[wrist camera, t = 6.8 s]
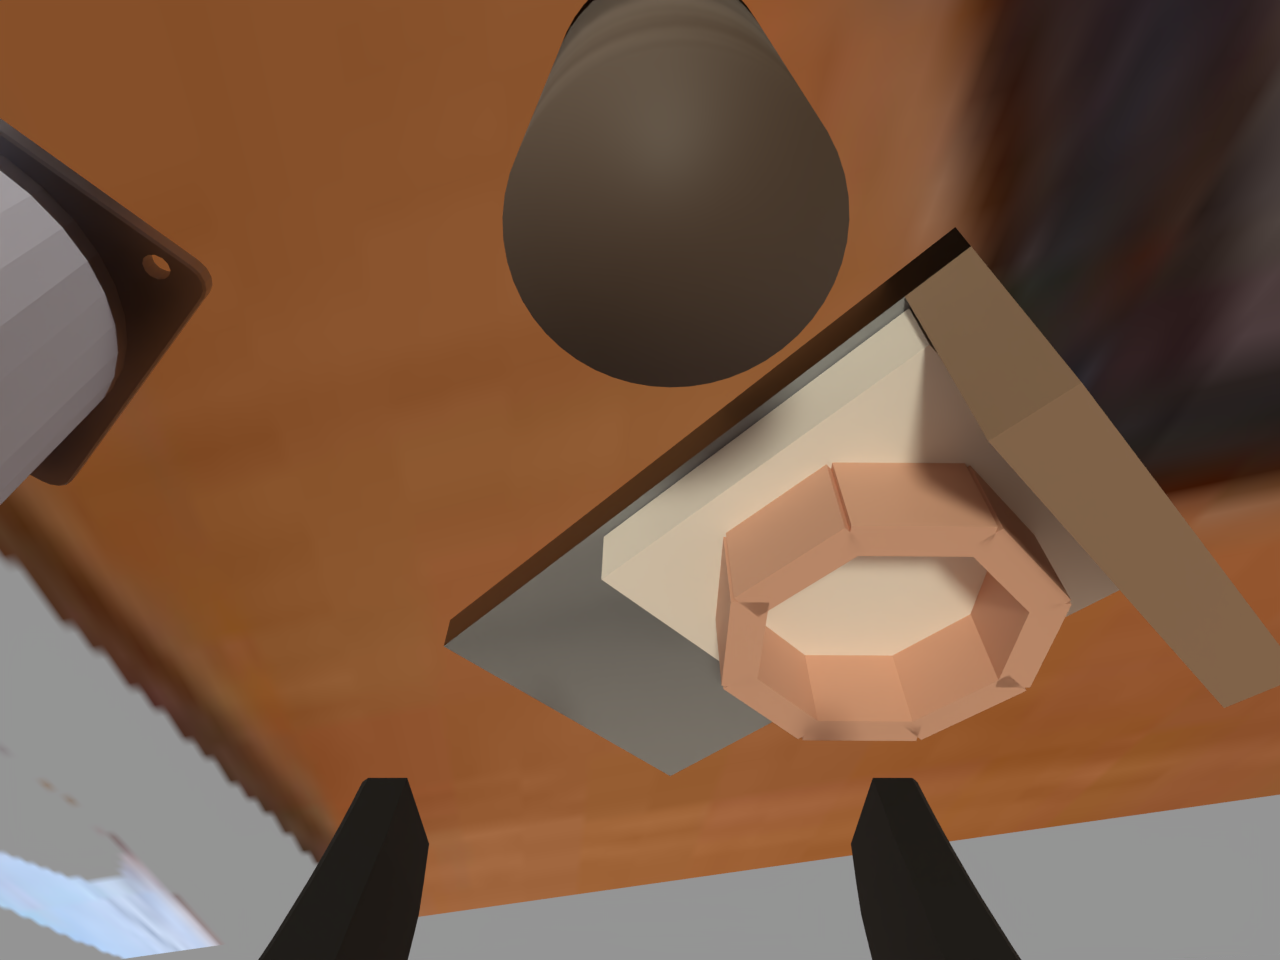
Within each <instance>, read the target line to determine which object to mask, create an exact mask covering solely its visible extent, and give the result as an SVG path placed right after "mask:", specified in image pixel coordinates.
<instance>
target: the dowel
mask: <svg viewBox="0 0 1280 960" xmlns="http://www.w3.org/2000/svg"><path fill="white" fill-rule="evenodd" d="M502 220H503V241H504V247H505V253H506V258H507V263H508V266H509V269H510V272H511V276H512V279H513V282H514V284H515V286H516V288H517V290H518V293H519V295H520V297H521V299H522V301H523V303H524V304H525V306H526V307H527V309H528V311H529V312H530V314H531V315H532V317H533V318H534V320H535V321H536V322H537V323H538V325H539V326H540V327H541V328H542V329H543V331H544V332H545V333H546V334H547V335H548V336H549V337H550V338H551V339H552V340H553V341H554V342H555V343H556V344H557V345H558V346H559V347H561V348H562V349H563V350H565V351H566V352H567V353H569V354H570V355H571V356H573V357H574V358H575V359H577V360H578V361H580V362H582V363H584V364H585V365H587V366H589V367H591V368H592V369H594V370H596V371H599V372H601V373H603V374H606V375H608V376H611V377H613V378H617V379H620V380H623V381H627V382H630V383H635V384H641V385H646V386H655V387H690V386H696V385H702V384H708V383H713V382H716V381H720V380H723V379H727V378H730V377H733V376H735V375H737V374H740V373H742V372H745V371H747V370H749V369H751V368H753V367H755V366H757V365H759V364H760V363H762V362H764V361H766V360H767V359H769V358H770V357H772V356H773V355H775V354H776V353H777V352H779V351H780V350H782V349H783V348H784V347H785V346H786V345H788V344H789V343H790V342H791V341H792V340H793V339H794V338H795V337H797V336H798V335H799V334H800V332H801V331H802V330H803V329H804V328H805V327H806V326H807V325H808V324H809V322H810V321H811V320H812V319H813V318H814V316H815V315H816V313H817V312H818V310H819V309H820V307H821V306H822V305H823V303H824V302H825V300H826V298H827V296H828V294H829V292H830V290H831V288H832V287H833V285H834V283H835V280H836V277H837V275H838V272H839V270H840V267H841V264H842V261H843V257H844V253H845V248H846V244H847V238H848V228H849V196H848V190H847V184H846V178H845V173H844V170H843V167H842V164H841V161H840V158H839V155H838V152H837V150H836V148H835V146H834V144H833V142H832V139H831V137H830V135H829V133H828V131H827V130H826V128H825V127H824V125H823V123H822V122H821V120H820V119H819V117H818V116H817V114H816V112H815V111H814V109H813V108H812V106H811V105H810V103H809V102H808V100H807V98H806V97H805V95H804V94H803V92H802V91H801V89H800V87H799V86H798V84H797V83H796V81H795V80H794V78H793V76H792V75H791V73H790V72H789V70H788V69H787V67H786V66H785V64H784V62H783V61H782V59H781V58H780V56H779V55H778V53H777V51H776V50H775V48H774V47H773V45H772V44H771V42H770V40H769V39H768V37H767V36H766V34H765V33H764V31H763V29H762V28H761V26H760V25H759V23H758V22H757V20H756V19H755V17H754V16H753V14H752V13H751V11H750V10H749V8H748V7H747V5H746V4H745V3H744V2H743V1H742V0H588V1H587V2H586V3H585V4H584V5H583V6H582V8H581V9H580V10H579V12H578V13H577V15H576V16H575V17H574V19H573V21H572V23H571V25H570V26H569V28H568V30H567V32H566V35H565V37H564V39H563V42H562V44H561V47H560V49H559V52H558V54H557V57H556V59H555V62H554V64H553V67H552V69H551V72H550V74H549V76H548V79H547V81H546V84H545V86H544V89H543V91H542V94H541V96H540V99H539V101H538V104H537V106H536V109H535V111H534V114H533V116H532V118H531V121H530V123H529V126H528V128H527V131H526V133H525V136H524V138H523V141H522V143H521V146H520V148H519V151H518V153H517V156H516V158H515V161H514V163H513V166H512V169H511V171H510V174H509V179H508V183H507V187H506V191H505V196H504V207H503V217H502Z"/></svg>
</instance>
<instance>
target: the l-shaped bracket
mask: <svg viewBox="0 0 1280 960" xmlns="http://www.w3.org/2000/svg"><path fill="white" fill-rule="evenodd" d="M907 309H910V310H911V311H912V313H913V314H914V315H915V316H916V317H917V318H918V320H919V322H920V324H921V325H922V327H923V329H924V331H925V332H926V334H927V336H928V338H929V339H930V341H931V343H932V344H933V346H934V348H935V350H936V351H937V353H938V355H939V357H940V358H941V360H942V362H943V364H944V365H945V367H946V369H947V371H948V372H949V374H950V376H951V377H952V379H953V381H954V383H955V384H956V386H957V388H958V390H959V391H960V393H961V395H962V397H963V398H964V400H965V402H966V404H967V405H968V407H969V409H970V410H971V412H972V414H973V416H974V417H975V419H976V421H977V423H978V424H979V426H980V428H981V430H982V431H983V433H984V435H985V437H986V438H987V440H988V442H989V443H990V444H991V445H992V446H993V447H994V448H995V449H996V451H997V452H998V453H999V454H1000V455H1001V456H1002V457H1003V459H1004V460H1005V461H1006V462H1007V463H1008V464H1009V465H1010V466H1011V468H1012V469H1013V470H1014V471H1015V472H1016V473H1017V474H1018V475H1019V477H1020V478H1021V479H1022V480H1023V481H1024V482H1025V483H1026V485H1027V486H1028V487H1029V488H1030V489H1031V490H1032V491H1033V492H1034V494H1035V495H1036V496H1037V497H1038V498H1039V499H1040V500H1041V502H1042V503H1043V504H1044V505H1045V506H1046V507H1047V508H1048V509H1049V511H1050V512H1051V513H1052V514H1053V515H1054V516H1055V517H1056V518H1057V520H1058V521H1059V522H1060V523H1061V524H1062V525H1063V526H1064V528H1065V529H1066V530H1067V531H1068V532H1069V533H1070V534H1071V535H1072V537H1073V538H1074V539H1075V540H1076V541H1077V542H1078V543H1079V545H1080V546H1081V547H1082V548H1083V549H1084V550H1085V551H1086V552H1087V554H1088V555H1089V556H1090V557H1091V558H1092V559H1093V560H1094V561H1095V563H1096V564H1097V565H1098V566H1099V567H1100V568H1101V569H1102V571H1103V572H1104V573H1105V574H1106V575H1107V576H1108V577H1109V578H1110V580H1111V581H1112V582H1113V583H1114V584H1115V585H1116V586H1117V588H1118V589H1119V590H1120V591H1121V592H1122V593H1123V594H1124V595H1125V597H1126V598H1127V599H1128V600H1129V601H1130V602H1131V603H1132V604H1133V606H1134V607H1135V608H1136V609H1137V610H1138V611H1139V612H1140V614H1141V615H1142V616H1143V617H1144V618H1145V619H1146V620H1147V621H1148V623H1149V624H1150V625H1151V626H1152V627H1153V628H1154V629H1155V631H1156V632H1157V633H1158V634H1159V635H1160V636H1161V637H1162V638H1163V640H1164V641H1165V642H1166V643H1167V644H1168V645H1169V646H1170V647H1171V649H1172V650H1173V651H1174V652H1175V653H1176V654H1177V655H1178V657H1179V658H1180V659H1181V660H1182V661H1183V662H1184V663H1185V664H1186V666H1187V667H1188V668H1189V669H1190V670H1191V671H1192V672H1193V674H1194V675H1195V676H1196V677H1197V678H1198V679H1199V680H1200V681H1201V683H1202V684H1203V685H1204V686H1205V687H1206V688H1207V689H1208V690H1209V692H1210V693H1211V694H1212V695H1213V696H1214V697H1215V698H1216V700H1217V701H1218V702H1219V703H1220V704H1221V705H1222V706H1223V707H1224V708H1226V707H1228V706H1230V705H1233V704H1235V703H1238V702H1240V701H1243V700H1245V699H1248V698H1250V697H1252V696H1255V695H1257V694H1260V693H1262V692H1265V691H1267V690H1270V689H1272V688H1274V687H1277V686H1279V685H1280V645H1279V644H1278V643H1277V641H1276V640H1275V639H1274V638H1273V636H1272V635H1271V634H1270V632H1269V631H1268V630H1267V628H1266V627H1265V626H1264V624H1263V623H1262V622H1261V620H1260V619H1259V618H1258V616H1257V615H1256V614H1255V612H1254V611H1253V610H1252V608H1251V607H1250V606H1249V604H1248V603H1247V602H1246V600H1245V599H1244V598H1243V596H1242V595H1241V594H1240V592H1239V591H1238V590H1237V588H1236V587H1235V586H1234V584H1233V583H1232V582H1231V580H1230V579H1229V578H1228V576H1227V575H1226V574H1225V572H1224V571H1223V570H1222V568H1221V567H1220V566H1219V564H1218V563H1217V562H1216V560H1215V559H1214V558H1213V556H1212V555H1211V554H1210V552H1209V551H1208V550H1207V548H1206V547H1205V546H1204V544H1203V543H1202V542H1201V540H1200V539H1199V538H1198V536H1197V535H1196V534H1195V532H1194V531H1193V530H1192V529H1191V527H1190V526H1189V525H1188V523H1187V522H1186V521H1185V519H1184V518H1183V517H1182V515H1181V514H1180V513H1179V511H1178V510H1177V509H1176V507H1175V506H1174V505H1173V503H1172V502H1171V501H1170V499H1169V498H1168V497H1167V495H1166V494H1165V493H1164V491H1163V490H1162V489H1161V487H1160V486H1159V485H1158V483H1157V482H1156V481H1155V479H1154V478H1153V477H1152V475H1151V474H1150V473H1149V471H1148V470H1147V469H1146V467H1145V466H1144V465H1143V463H1142V462H1141V461H1140V459H1139V458H1138V457H1137V455H1136V454H1135V453H1134V451H1133V450H1132V449H1131V447H1130V446H1129V445H1128V443H1127V442H1126V441H1125V439H1124V438H1123V437H1122V435H1121V434H1120V433H1119V431H1118V430H1117V429H1116V427H1115V426H1114V425H1113V424H1112V422H1111V421H1110V420H1109V418H1108V417H1107V416H1106V414H1105V413H1104V412H1103V410H1102V409H1101V408H1100V406H1099V405H1098V404H1097V402H1096V401H1095V400H1094V398H1093V397H1092V396H1091V394H1090V393H1089V392H1088V390H1087V389H1086V388H1085V386H1084V385H1083V384H1082V382H1081V381H1080V380H1079V379H1078V377H1077V376H1076V375H1075V374H1074V372H1073V371H1072V370H1071V369H1070V368H1069V366H1068V365H1067V364H1066V363H1065V361H1064V360H1063V359H1062V358H1061V356H1060V355H1059V354H1058V353H1057V352H1056V350H1055V349H1054V348H1053V347H1052V345H1051V344H1050V343H1049V342H1048V340H1047V339H1046V338H1045V337H1044V335H1043V334H1042V333H1041V332H1040V331H1039V329H1038V328H1037V327H1036V326H1035V324H1034V323H1033V322H1032V321H1031V319H1030V318H1029V317H1028V316H1027V315H1026V313H1025V312H1024V311H1023V310H1022V308H1021V307H1020V306H1019V305H1018V303H1017V302H1016V301H1015V300H1014V299H1013V297H1012V296H1011V295H1010V294H1009V292H1008V291H1007V290H1006V289H1005V287H1004V286H1003V285H1002V284H1001V283H1000V281H999V280H998V279H997V278H996V276H995V275H994V274H993V273H992V271H991V270H990V269H989V268H988V267H987V265H986V264H985V263H984V262H983V260H982V259H981V258H980V257H979V255H978V254H977V253H976V252H975V251H974V249H973V248H972V247H971V246H970V244H969V243H968V242H967V241H966V239H965V238H964V237H963V236H962V234H961V233H960V232H959V231H958V230H957V228H956V227H955V228H953V229H952V230H951V231H949V232H948V233H947V234H946V235H944V236H943V237H942V238H940V239H939V240H938V241H937V242H935V243H934V244H933V245H931V246H930V247H929V248H928V249H926V250H925V251H924V252H922V253H921V254H920V255H919V256H917V257H916V258H915V259H913V260H912V261H911V262H910V263H908V264H907V265H906V266H904V267H903V268H902V269H901V270H899V271H898V272H897V273H895V274H894V275H893V276H892V277H890V278H889V279H888V280H886V281H885V282H884V283H883V284H881V285H880V286H879V287H877V288H876V289H875V290H874V291H872V292H871V293H870V294H869V295H867V296H866V297H865V298H863V299H862V300H861V301H860V302H858V303H857V304H856V305H854V306H853V307H852V308H851V309H849V310H848V311H847V312H845V313H844V314H843V315H842V316H840V317H839V318H838V319H836V320H835V321H834V322H833V323H831V324H830V325H829V326H827V327H826V328H825V329H824V330H822V331H821V332H820V333H818V334H817V335H816V336H815V337H813V338H812V339H811V340H809V341H808V342H807V343H806V344H804V345H803V346H802V347H800V348H799V349H798V350H797V351H795V352H794V353H793V354H791V355H790V356H789V357H788V358H786V359H785V360H784V361H782V362H781V363H780V364H779V365H777V366H776V367H775V368H773V369H772V370H771V371H770V372H768V373H767V374H766V375H764V376H763V377H762V378H761V379H759V380H758V381H757V382H755V383H754V384H753V385H752V386H750V387H749V388H748V389H746V390H745V391H744V392H743V393H741V394H740V395H739V396H737V397H736V398H735V399H734V400H732V401H731V402H730V403H728V404H727V405H726V406H725V407H723V408H722V409H721V410H719V411H718V412H717V413H716V414H714V415H713V416H712V417H710V418H709V419H708V420H707V421H705V422H704V423H703V424H701V425H700V426H699V427H698V428H696V429H695V430H694V431H692V432H691V433H690V434H689V435H687V436H686V437H685V438H683V439H682V440H681V441H680V442H678V443H677V444H676V445H674V446H673V447H672V448H671V449H669V450H668V451H667V452H665V453H664V454H663V455H662V456H660V457H659V458H658V459H656V460H655V461H654V462H653V463H651V464H650V465H649V466H647V467H646V468H645V469H644V470H642V471H641V472H640V473H638V474H637V475H636V476H635V477H633V478H632V479H631V480H629V481H628V482H627V483H626V484H624V485H623V486H622V487H620V488H619V489H618V490H617V491H615V492H614V493H613V494H611V495H610V496H609V497H608V498H606V499H605V500H604V501H602V502H601V503H600V504H599V505H597V506H596V507H595V508H593V509H592V510H591V511H590V512H588V513H587V514H586V515H584V516H583V517H582V518H581V519H579V520H578V521H577V522H575V523H574V524H573V525H572V526H570V527H569V528H568V529H566V530H565V531H564V532H563V533H561V534H560V535H559V536H557V537H556V538H555V539H554V540H552V541H551V542H550V543H548V544H547V545H546V546H545V547H543V548H542V549H541V550H539V551H538V552H537V553H536V554H534V555H533V556H532V557H530V558H529V559H528V560H527V561H525V562H524V563H523V564H521V565H520V566H519V567H518V568H516V569H515V570H514V571H512V572H511V573H510V574H509V575H507V576H506V577H505V578H503V579H502V580H501V581H500V582H498V583H497V584H496V585H494V586H493V587H492V588H491V589H489V590H488V591H487V592H485V593H484V594H483V595H482V596H480V597H479V598H478V599H476V600H475V601H474V602H473V603H471V604H470V605H469V606H467V607H466V608H465V609H464V610H462V611H461V612H460V613H458V614H457V615H456V616H455V617H453V618H452V619H451V620H450V623H449V627H448V631H447V635H446V639H445V643H444V647H446V648H447V649H449V650H451V651H453V652H454V653H456V654H458V655H460V656H461V657H463V658H465V659H467V660H468V661H470V662H472V663H474V664H475V665H477V666H479V667H481V668H482V669H484V670H486V671H488V672H489V673H491V674H493V675H495V676H496V677H498V678H500V679H502V680H503V681H505V682H507V683H509V684H510V685H512V686H514V687H516V688H517V689H519V690H521V691H523V692H524V693H526V694H528V695H530V696H531V697H533V698H535V699H537V700H538V701H540V702H542V703H544V704H545V705H547V706H549V707H551V708H552V709H554V710H556V711H557V712H559V713H561V714H563V715H564V716H566V717H568V718H570V719H571V720H573V721H575V722H577V723H578V724H580V725H582V726H584V727H585V728H587V729H589V730H591V731H592V732H594V733H596V734H598V735H599V736H601V737H603V738H605V739H606V740H608V741H610V742H612V743H613V744H615V745H617V746H619V747H620V748H622V749H624V750H626V751H627V752H629V753H631V754H633V755H634V756H636V757H638V758H640V759H641V760H643V761H645V762H647V763H648V764H650V765H652V766H654V767H655V768H657V769H659V770H661V771H662V772H664V773H666V774H667V775H669V776H671V775H673V774H675V773H677V772H679V771H681V770H683V769H685V768H686V767H688V766H690V765H692V764H694V763H696V762H698V761H700V760H702V759H703V758H705V757H707V756H709V755H711V754H713V753H715V752H717V751H719V750H720V749H722V748H724V747H726V746H728V745H730V744H732V743H734V742H736V741H737V740H739V739H741V738H743V737H745V736H747V735H749V734H751V733H753V732H755V731H756V730H758V729H760V728H762V727H764V726H766V725H768V724H770V723H772V721H770V720H769V719H767V718H766V717H764V716H763V715H761V714H760V713H758V712H757V711H755V710H754V709H752V708H751V707H749V706H748V705H746V704H745V703H744V702H742V701H741V700H739V699H738V698H736V697H735V696H733V695H732V694H730V693H729V692H727V691H726V690H724V689H723V686H722V685H721V674H720V663H719V661H718V660H717V659H715V658H714V657H713V656H711V655H710V654H708V653H707V652H705V651H704V650H702V649H701V648H700V647H698V646H697V645H695V644H694V643H692V642H691V641H689V640H688V639H687V638H685V637H684V636H682V635H681V634H679V633H678V632H676V631H675V630H674V629H672V628H671V627H669V626H668V625H666V624H665V623H663V622H662V621H661V620H659V619H658V618H656V617H655V616H653V615H652V614H650V613H649V612H648V611H646V610H645V609H643V608H642V607H640V606H639V605H637V604H636V603H635V602H633V601H632V600H630V599H629V598H627V597H626V596H624V595H623V594H622V593H620V592H619V591H617V590H616V589H614V588H613V587H611V586H610V585H609V584H607V583H606V582H604V581H603V580H601V576H602V559H603V541H604V536H605V535H607V534H608V533H609V532H611V531H612V530H613V529H615V528H616V527H617V526H619V525H620V524H622V523H623V522H624V521H626V520H627V519H628V518H630V517H631V516H632V515H634V514H635V513H636V512H638V511H639V510H640V509H642V508H643V507H644V506H646V505H647V504H648V503H650V502H651V501H652V500H654V499H655V498H656V497H658V496H659V495H660V494H662V493H663V492H664V491H666V490H667V489H668V488H670V487H671V486H672V485H674V484H675V483H676V482H678V481H679V480H680V479H682V478H683V477H684V476H686V475H687V474H688V473H690V472H691V471H692V470H694V469H695V468H696V467H698V466H699V465H700V464H702V463H703V462H704V461H706V460H707V459H708V458H710V457H711V456H712V455H714V454H715V453H716V452H718V451H719V450H720V449H722V448H723V447H724V446H726V445H727V444H728V443H730V442H731V441H732V440H734V439H735V438H736V437H738V436H739V435H740V434H742V433H743V432H744V431H746V430H747V429H748V428H750V427H751V426H752V425H754V424H755V423H756V422H758V421H759V420H760V419H762V418H763V417H764V416H766V415H767V414H768V413H770V412H771V411H772V410H774V409H775V408H776V407H778V406H779V405H780V404H782V403H783V402H784V401H786V400H787V399H788V398H790V397H791V396H792V395H794V394H795V393H796V392H798V391H799V390H800V389H802V388H803V387H804V386H806V385H807V384H808V383H810V382H811V381H812V380H814V379H815V378H816V377H818V376H819V375H820V374H822V373H823V372H824V371H826V370H827V369H828V368H830V367H831V366H833V365H834V364H835V363H837V362H838V361H839V360H841V359H842V358H843V357H845V356H846V355H847V354H849V353H850V352H851V351H853V350H854V349H855V348H857V347H858V346H859V345H861V344H862V343H863V342H865V341H866V340H867V339H869V338H870V337H871V336H873V335H874V334H875V333H877V332H878V331H879V330H881V329H882V328H883V327H885V326H886V325H887V324H889V323H890V322H891V321H893V320H894V319H895V318H897V317H898V316H899V315H901V314H902V313H903V312H905V311H906V310H907Z"/></svg>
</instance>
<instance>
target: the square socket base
mask: <svg viewBox="0 0 1280 960" xmlns="http://www.w3.org/2000/svg"><path fill="white" fill-rule="evenodd" d="M601 580H603V581H604V582H606V583H607V584H609V585H610V586H611V587H613V588H614V589H616V590H617V591H619V592H620V593H622V594H623V595H624V596H626V597H627V598H629V599H630V600H632V601H633V602H635V603H636V604H637V605H639V606H640V607H642V608H643V609H645V610H646V611H648V612H649V613H650V614H652V615H653V616H655V617H656V618H658V619H659V620H661V621H662V622H663V623H665V624H666V625H668V626H669V627H671V628H672V629H674V630H675V631H676V632H678V633H679V634H681V635H682V636H684V637H685V638H687V639H688V640H689V641H691V642H692V643H694V644H695V645H697V646H698V647H700V648H701V649H702V650H704V651H705V652H707V653H708V654H710V655H711V656H713V657H714V658H715V659H717V660H718V661H719V663H720V674H721V685H722V686H723V689H724V690H726V691H727V692H729V693H730V694H732V695H733V696H735V697H736V698H738V699H739V700H741V701H742V702H744V703H745V704H746V705H748V706H749V707H751V708H752V709H754V710H755V711H757V712H758V713H760V714H761V715H763V716H764V717H766V718H767V719H769V720H770V721H772V722H773V723H775V724H776V725H778V726H779V727H781V728H782V729H784V730H785V731H787V732H788V733H790V734H791V735H793V736H794V737H796V738H797V739H799V738H801V737H802V739H803V740H836V741H916V740H917V737H918V738H920V739H921V740H922V739H924V738H926V737H929V736H931V735H933V734H935V733H937V732H939V731H941V730H944V729H946V728H948V727H950V726H952V725H954V724H956V723H958V722H961V721H963V720H965V719H967V718H969V717H971V716H973V715H976V714H978V713H980V712H982V711H984V710H986V709H988V708H991V707H993V706H995V705H997V704H999V703H1001V702H1003V701H1006V700H1008V699H1010V698H1012V697H1014V696H1016V695H1018V694H1020V693H1023V692H1025V691H1026V689H1025V688H1030V687H1031V685H1032V683H1033V681H1034V679H1035V677H1036V675H1037V673H1038V671H1039V669H1040V667H1041V665H1042V663H1043V661H1044V659H1045V657H1046V655H1047V653H1048V651H1049V649H1050V647H1051V645H1052V643H1053V641H1054V639H1055V637H1056V635H1057V633H1058V631H1059V629H1060V627H1061V625H1062V623H1063V621H1064V619H1065V617H1067V616H1069V615H1071V614H1073V613H1075V612H1077V611H1079V610H1081V609H1083V608H1085V607H1087V606H1089V605H1091V604H1093V603H1095V602H1097V601H1099V600H1101V599H1103V598H1105V597H1107V596H1109V595H1111V594H1113V593H1115V592H1117V591H1119V589H1118V588H1117V586H1116V585H1115V584H1114V583H1113V582H1112V581H1111V580H1110V578H1109V577H1108V576H1107V575H1106V574H1105V573H1104V572H1103V571H1102V569H1101V568H1100V567H1099V566H1098V565H1097V564H1096V563H1095V561H1094V560H1093V559H1092V558H1091V557H1090V556H1089V555H1088V554H1087V552H1086V551H1085V550H1084V549H1083V548H1082V547H1081V546H1080V545H1079V543H1078V542H1077V541H1076V540H1075V539H1074V538H1073V537H1072V535H1071V534H1070V533H1069V532H1068V531H1067V530H1066V529H1065V528H1064V526H1063V525H1062V524H1061V523H1060V522H1059V521H1058V520H1057V518H1056V517H1055V516H1054V515H1053V514H1052V513H1051V512H1050V511H1049V509H1048V508H1047V507H1046V506H1045V505H1044V504H1043V503H1042V502H1041V500H1040V499H1039V498H1038V497H1037V496H1036V495H1035V494H1034V492H1033V491H1032V490H1031V489H1030V488H1029V487H1028V486H1027V485H1026V483H1025V482H1024V481H1023V480H1022V479H1021V478H1020V477H1019V475H1018V474H1017V473H1016V472H1015V471H1014V470H1013V469H1012V468H1011V466H1010V465H1009V464H1008V463H1007V462H1006V461H1005V460H1004V459H1003V457H1002V456H1001V455H1000V454H999V453H998V452H997V451H996V449H995V448H994V447H993V446H992V445H991V444H990V443H989V442H988V440H987V438H986V437H985V435H984V433H983V431H982V430H981V428H980V426H979V424H978V423H977V421H976V419H975V417H974V416H973V414H972V412H971V410H970V409H969V407H968V405H967V404H966V402H965V400H964V398H963V397H962V395H961V393H960V391H959V390H958V388H957V386H956V384H955V383H954V381H953V379H952V377H951V376H950V374H949V372H948V371H947V369H946V367H945V365H944V364H943V362H942V360H941V358H940V357H939V355H938V353H937V351H936V350H935V348H934V346H933V344H932V343H931V341H930V339H929V338H928V336H927V334H926V332H925V331H924V329H923V327H922V325H921V324H920V322H919V320H918V318H917V317H916V316H915V315H914V314H913V313H912V311H911V310H910V309H907V310H906V311H905V312H903V313H902V314H901V315H899V316H898V317H897V318H895V319H894V320H893V321H891V322H890V323H889V324H887V325H886V326H885V327H883V328H882V329H881V330H879V331H878V332H877V333H875V334H874V335H873V336H871V337H870V338H869V339H867V340H866V341H865V342H863V343H862V344H861V345H859V346H858V347H857V348H855V349H854V350H853V351H851V352H850V353H849V354H847V355H846V356H845V357H843V358H842V359H841V360H839V361H838V362H837V363H835V364H834V365H833V366H831V367H830V368H828V369H827V370H826V371H824V372H823V373H822V374H820V375H819V376H818V377H816V378H815V379H814V380H812V381H811V382H810V383H808V384H807V385H806V386H804V387H803V388H802V389H800V390H799V391H798V392H796V393H795V394H794V395H792V396H791V397H790V398H788V399H787V400H786V401H784V402H783V403H782V404H780V405H779V406H778V407H776V408H775V409H774V410H772V411H771V412H770V413H768V414H767V415H766V416H764V417H763V418H762V419H760V420H759V421H758V422H756V423H755V424H754V425H752V426H751V427H750V428H748V429H747V430H746V431H744V432H743V433H742V434H740V435H739V436H738V437H736V438H735V439H734V440H732V441H731V442H730V443H728V444H727V445H726V446H724V447H723V448H722V449H720V450H719V451H718V452H716V453H715V454H714V455H712V456H711V457H710V458H708V459H707V460H706V461H704V462H703V463H702V464H700V465H699V466H698V467H696V468H695V469H694V470H692V471H691V472H690V473H688V474H687V475H686V476H684V477H683V478H682V479H680V480H679V481H678V482H676V483H675V484H674V485H672V486H671V487H670V488H668V489H667V490H666V491H664V492H663V493H662V494H660V495H659V496H658V497H656V498H655V499H654V500H652V501H651V502H650V503H648V504H647V505H646V506H644V507H643V508H642V509H640V510H639V511H638V512H636V513H635V514H634V515H632V516H631V517H630V518H628V519H627V520H626V521H624V522H623V523H622V524H620V525H619V526H617V527H616V528H615V529H613V530H612V531H611V532H609V533H608V534H607V535H605V536H604V541H603V559H602V576H601Z"/></svg>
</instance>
